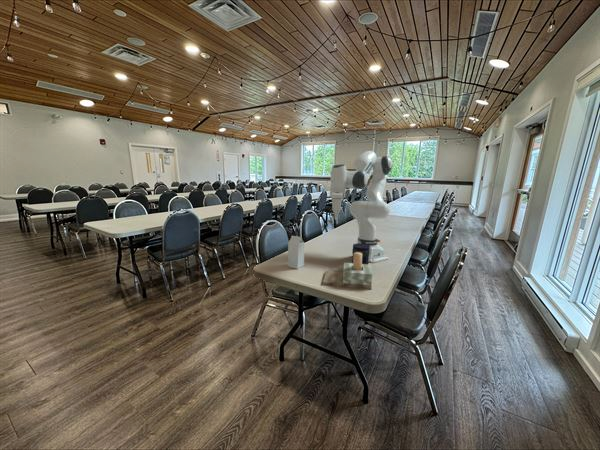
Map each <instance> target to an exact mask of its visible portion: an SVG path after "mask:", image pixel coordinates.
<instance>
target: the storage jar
mask: <svg viewBox="0 0 600 450" xmlns="http://www.w3.org/2000/svg"><path fill="white" fill-rule="evenodd" d="M355 252H360V253H362V264H368V265H370V262H368V259H369V253H370V246H369V245H367V244H360V243H358V242H357V243H353V244H352V254H351V255H352V259H351V263H353V258H354V253H355Z"/></svg>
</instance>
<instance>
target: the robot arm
mask: <svg viewBox="0 0 600 450" xmlns="http://www.w3.org/2000/svg"><path fill="white" fill-rule="evenodd" d="M353 164H354V165H353V166H354V169H355V170H348V169H347V166H346V164H334V165H332V167H331V171H330V178H329V179H330V187H329V198H331V205H332V206H331V207H332V209H331V210H332V212H333V213H334V220H339V216H340V214H339V213H340V211H341V207H342V201H344V198H346V191H347V188H349V189H359V190H362V189H364V188H365V187H367V189H366V191H365V197H366V198H367V199H368V200H355V201H352V202H351V203H350V205H349V213H350V214H351V215H352V216H353V218H355V221H356V223H357V225H358V226H357V227H358V237H357V244H358V243H360V244H367V245H369V246H370V253H369V259H368V262H369V263H374V264H375V263H379V262H383V261H387V260H388V259H389V257H388V255H386V254H385V249H384V247H382V246H381V245H379V244H378V243H381V239H380V238H377V227H376V225H375V224H373V222H372V223H371V221H370V220H369V219H374V220H375V219H376V220H381V219H386V218H387V217H388V216H390V215H389V214H390V211H391V210H390V206H389V204H388V203H387V202H385V201H384V199H383V198H384V197H383V196H384V192H385V190H386V186H387V177H386V176H388V175H389V174H390V172H391V171H392V169H393V165H394V164H393V159H392V158H391V157H390V156H387V155H384V156H379V157H377V154H376V152H374V151H373V150H366V151H364V152H363V153H361V154H360V155H358V156H357V157H356V159H355V160H354V162H353ZM371 177H372V178H371ZM370 178H371V179H370ZM369 180H370V181H369ZM368 183H369V184H368ZM367 185H368V186H367Z"/></svg>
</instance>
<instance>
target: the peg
mask: <svg viewBox="0 0 600 450" xmlns="http://www.w3.org/2000/svg"><path fill="white" fill-rule="evenodd" d="M352 260H353V270H361V269H362V253H360V252H355V253H354V258H353V257H352Z"/></svg>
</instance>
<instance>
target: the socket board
mask: <svg viewBox="0 0 600 450" xmlns="http://www.w3.org/2000/svg"><path fill="white" fill-rule="evenodd" d="M322 281H323V282H322V285H323V286H331V287H332V286H333V287H340V288H341V287H342V288H350V289H351V288H353V289H365V290H372V283H373V282H372V281H373V272H372V267H371V264H369V265H368V264H362V269H361V270H353V263H352V262H343V271H338V270H337V271H333V270H325V273H324V277H323V280H322Z"/></svg>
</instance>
